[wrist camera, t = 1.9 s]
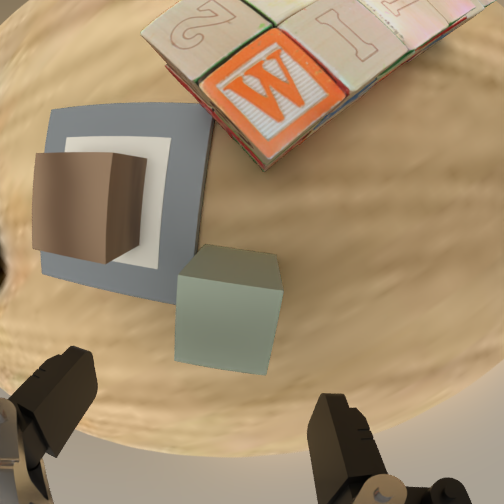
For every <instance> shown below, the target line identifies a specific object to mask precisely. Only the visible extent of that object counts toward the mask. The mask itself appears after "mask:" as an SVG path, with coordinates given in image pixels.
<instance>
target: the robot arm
mask: <svg viewBox="0 0 504 504" xmlns="http://www.w3.org/2000/svg"><path fill="white" fill-rule="evenodd" d="M97 389H98V383H97V378H96V372H95V367H94V360H93V355H92V353H91V352H90V351H87V350H84V349H81V348H78V347H76V346H70V347H69V348H68V349H67V350H66V351H65V352H64V353H63V354H62V355H59V354H58V355H56V356H54V357H52V358H49V359H47V360H46V361H45V362H44V363H43V364H42V365H41V366H40V367H39V370H38V369H37V370H36V371H35V372H34V373H33V375H32V376H30V377H29V378H28V379H27V380H26V381H25V382H24V383H23V384H22V385H21V386H20V387H19V388H18V389H17V390H16V391H15V392H14V393H13V395H12V396H11V397H10V398H9V399H5V398H0V504H54V502H53V499H52V495H51V491H50V488H49V484H48V480H47V475H46V470H45V465H44V461H43V459H42V457H43V455H44V454H45V452H46V453H48V454H49V455H51V456H53V457H55V458H57V456H58V455H59V453H60V452H61V450H62V448H63V447H64V445H65V444H66V442H67V440H68V439H69V437H70V436H71V434H72V432H73V431H74V429H75V428H76V426H77V425H78V423H79V422H80V420H81V419H82V417H83V416H84V414H85V412H86V411H87V409H88V408H89V406H90V405H91V403H92V402H93V400H94V399H95V397H96V394H97ZM307 440H308V445H309V451H310V457H311V462H312V469H313V475H314V481H315V488H316V494H317V500H318V504H472V503H471V500H470V498H469V496H468V494H467V491H466V489H465V487H464V486H463V484H462V483H461V482H459V481H458V480H456V479H453V478H442V479H440V480H438V481H437V482H436V483H434V484H433V486H431V487H430V488H427V487H406V486H405V485H404V483H403V482H402V481H401V480H400V479H398V478H397V477H395V476H392V475H388V473H387V471H386V468H385V466H384V463H383V460H382V458H381V455H380V453H379V450H378V448H377V445H376V443H375V440H373V435H372V433H371V431H370V428H369V425H368V423H367V420H366V418H365V417H364V416H363V414H362V413H361V412H360V411H359V410H358V409H357V408H349V405H348V403H347V400H346V397H345V395H344V394H331V393H322V394H321V395H320V396H319V399H318V401H317V404H316V406H315V409H314V411H313V414H312V416H311V419H310V421H309V424H308V429H307Z"/></svg>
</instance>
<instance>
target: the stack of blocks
mask: <svg viewBox="0 0 504 504" xmlns="http://www.w3.org/2000/svg"><path fill="white" fill-rule="evenodd" d="M495 1H496V0H180V1H178V2H177V3H176V4H174V5H173V6H171V7H170V8H169V9H167V10H166V11H165V12H163V13H162V14H161V15H159V16H158V17H157V18H155V19H154V20H153V21H152V22H150V23H149V24H148V25H147V26H145V28H144V29H143V30H142V31H141V32H140V33H141V36H142V37H143V38H144V39H145V40H146V41H147V42H148V43H149V44H150V45H151V46H152V47H153V48H154V50H155V51H156V52H157V53H158V54H159V55H160V56H161V57H162V58H163V59H164V61H165V62H166V63H167V64H166V65H165V67H166V68H167V69H168V70H169V72H170V73H171V74H172V75H173V76H174V77H175V78H176V79H177V81H179V82H180V83H181V85H183V86H184V87H185V88H186V89H187V90H188V91H189V92H190V93H191V94H192V95H193V96H194V97H195V98H196V99H197V101H198V102H199V103H200V105H201V106H202V107H203V108H205V109H206V110H207V112H208V113H209V114H210V115H211V116H212V117H213V118H214V119H215V120H216V121H217V122H218V123H219V124H220V125H221V126H222V128H223V129H224V130H226V132H227V133H228V134H229V135H230V136H231V138H233V139H234V140H235V141H236V142H237V143H238V144H240V145H241V147H242V148H243V149H244V151H245V152H246V153H247V154H248V155H249V156H250V157H251V158H252V159H253V161H254V162H255V163H256V164H258V165H259V166H260V167H261V170H262V171H263V172H265V171H266V170H268V169H269V168H270V167H271V166H272V165H274V164H275V163H276V162H277V161H278V160H280V159H281V158H282V157H283V156H284V155H286V154H287V153H288V152H289V151H291V150H292V149H293V148H294V147H296V146H297V145H300V144H301V143H302V142H303V141H304V140H306V139H307V138H308V137H309V136H311V135H312V134H313V133H315V132H316V131H317V130H318V129H320V128H321V127H322V126H323V125H324V124H326V123H327V122H329V121H330V120H331V119H333V118H334V117H335V116H337V115H338V114H339V113H341V112H342V111H343V110H345V109H346V108H347V107H349V106H350V105H351V104H353V103H354V102H355V101H357V100H358V99H359V98H360V97H361V96H363V95H364V94H365V93H366V92H367V91H368V90H369V89H370V88H371V87H372V86H373V85H375V84H376V83H378V82H379V81H380V80H382V79H384V78H385V77H386V76H387V75H389V74H390V73H391V72H393V71H394V70H395V69H396V68H398V67H399V66H400V65H402V64H403V63H405V62H409V61H411V60H412V59H414V58H415V57H417V56H418V55H420V54H421V53H423V52H424V51H426V50H427V49H429V48H430V47H431V46H433V45H434V44H435V43H437V42H438V41H440V40H441V39H442V38H444V37H445V36H446V35H448V34H449V33H451V32H452V31H454V30H455V29H457V28H458V27H460V26H461V25H463V24H464V23H466V22H467V21H469V20H470V19H472V18H473V17H474V16H476V15H477V14H478V13H480V12H481V11H483V10H484V8H485V7H487V6H488V5H490V4H491V3H493V2H495Z"/></svg>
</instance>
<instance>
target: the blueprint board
mask: <svg viewBox="0 0 504 504" xmlns="http://www.w3.org/2000/svg"><path fill="white" fill-rule="evenodd" d="M214 120H215V119H214V118H213V117H212V116H211V115H210V114H209V113H208V112H207V110H206V109H205V108H203V107H202V106H201V105H200V104H194V103H162V102H146V103H114V104H99V105H87V106H77V107H68V108H60V109H53V110H51V115H50V120H49V125H48V131H47V137H46V144H45V152H44V153H36V159H35V168H34V180H33V197H32V246H33V249H35V250H40V251H41V267H42V274H44V275H48V276H52V277H55V278H59V279H63V280H66V281H70V282H74V283H78V284H82V285H86V286H90V287H94V288H99V289H103V290H107V291H111V292H116V293H120V294H125V295H129V296H134V297H139V298H144V299H148V300H153V301H158V302H163V303H169V304H174V305H176V298H177V281H178V274H179V273H180V272H181V271H182V270H183V268H184V267H185V266H186V265H187V264H188V263H189V262H190V260H191V259H192V258H193V257H194V256H195V255H196V254H197V248H198V238H199V229H200V220H201V211H202V203H203V195H204V188H205V180H206V173H207V166H208V159H209V152H210V145H211V139H212V133H213V126H214Z"/></svg>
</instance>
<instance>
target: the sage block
mask: <svg viewBox="0 0 504 504" xmlns="http://www.w3.org/2000/svg"><path fill="white" fill-rule="evenodd" d="M283 292H284V290H283V285H282V280H281V275H280V270H279V266H278V261H277V256H276V255H275V254H269V253H262V252H255V251H248V250H242V249H235V248H228V247H221V246H214V245H208V244H205V245H204V246H203V247H202V248H201V249H200V250H199V251H198V253H197V254H196V255H195V256H194V257H193V258H192V259H191V260H190V262H189V263H188V264H187V265H186V266H185V267H184V268H183V270H182V271H181V272H180V273H179V274H178V281H177V298H176V320H175V358H174V361H178V362H183V363H188V364H193V365H199V366H204V367H210V368H216V369H222V370H228V371H235V372H242V373H250V374H258V375H266V374H267V369H268V365H269V360H270V356H271V351H272V346H273V342H274V337H275V332H276V327H277V322H278V318H279V313H280V308H281V303H282V298H283Z"/></svg>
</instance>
